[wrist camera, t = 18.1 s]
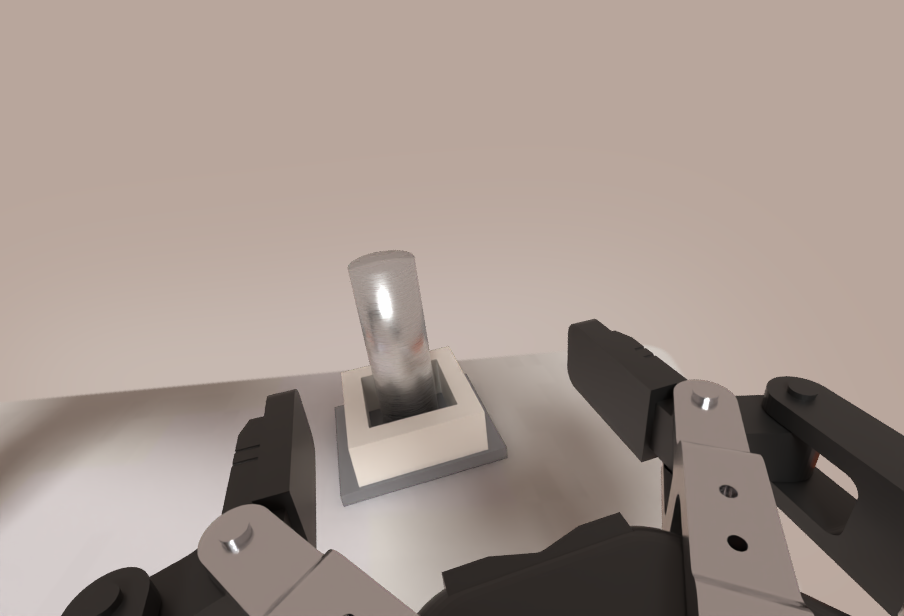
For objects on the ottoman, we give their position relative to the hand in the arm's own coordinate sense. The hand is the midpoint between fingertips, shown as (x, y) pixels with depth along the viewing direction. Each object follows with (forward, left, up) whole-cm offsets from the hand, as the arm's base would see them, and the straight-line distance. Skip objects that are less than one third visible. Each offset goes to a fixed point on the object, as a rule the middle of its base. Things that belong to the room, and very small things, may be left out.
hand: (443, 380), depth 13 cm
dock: (0, +18, -17) cm, 25 cm away
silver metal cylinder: (0, +18, -16) cm, 24 cm away
